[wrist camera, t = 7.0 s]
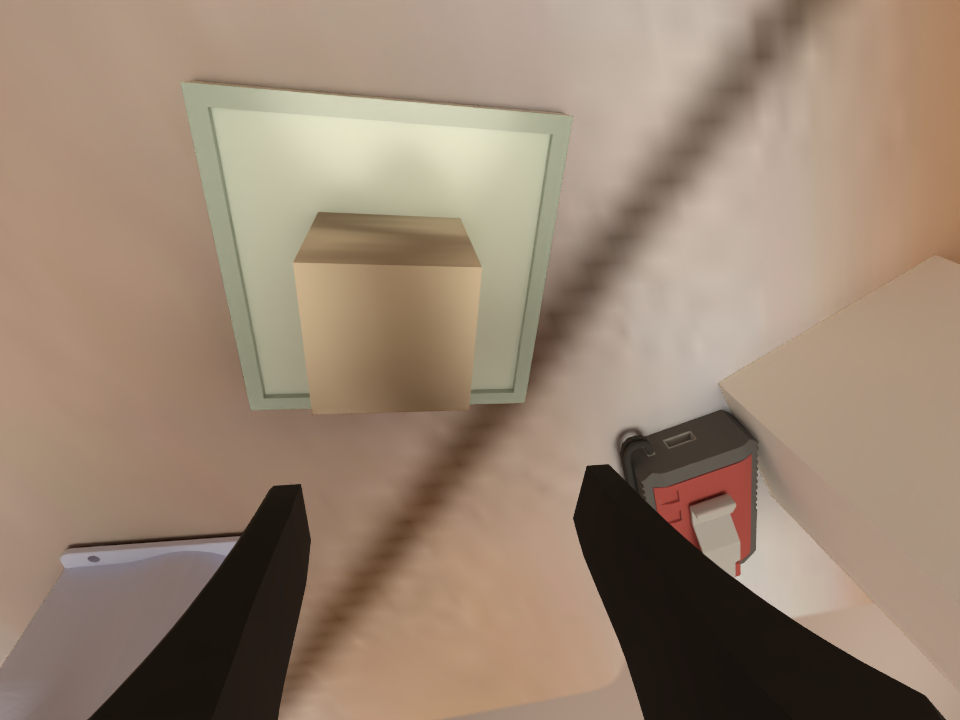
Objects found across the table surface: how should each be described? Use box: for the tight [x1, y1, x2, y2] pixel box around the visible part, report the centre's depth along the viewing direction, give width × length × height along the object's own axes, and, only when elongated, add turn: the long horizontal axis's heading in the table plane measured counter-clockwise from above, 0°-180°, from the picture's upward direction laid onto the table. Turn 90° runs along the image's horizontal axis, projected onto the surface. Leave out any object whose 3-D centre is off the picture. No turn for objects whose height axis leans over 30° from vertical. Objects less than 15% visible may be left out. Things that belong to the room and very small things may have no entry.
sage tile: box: [180, 81, 573, 410], centre depth 18 cm, size 12×12×1 cm
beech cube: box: [293, 212, 482, 415], centre depth 16 cm, size 5×5×5 cm
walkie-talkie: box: [620, 410, 759, 577], centre depth 29 cm, size 9×4×20 cm
